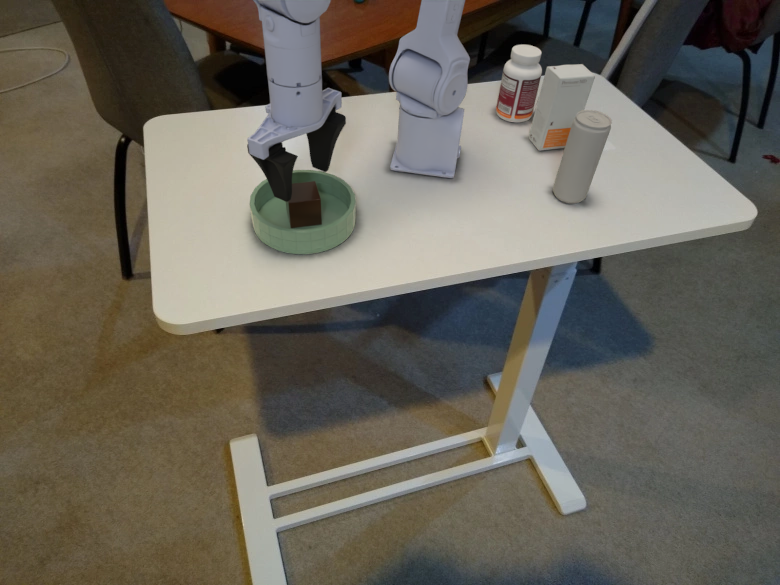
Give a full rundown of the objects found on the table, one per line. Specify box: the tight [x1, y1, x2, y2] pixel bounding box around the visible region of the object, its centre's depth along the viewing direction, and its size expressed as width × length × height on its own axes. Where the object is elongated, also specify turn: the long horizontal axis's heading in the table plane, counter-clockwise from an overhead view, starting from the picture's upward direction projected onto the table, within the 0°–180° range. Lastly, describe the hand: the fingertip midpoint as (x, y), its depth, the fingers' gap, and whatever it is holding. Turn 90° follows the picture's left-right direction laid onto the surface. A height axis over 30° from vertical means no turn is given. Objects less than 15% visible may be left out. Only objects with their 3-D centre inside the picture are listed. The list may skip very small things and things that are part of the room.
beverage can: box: [552, 109, 613, 204], centre depth 78 cm, size 5×5×12 cm
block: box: [286, 181, 322, 228], centre depth 73 cm, size 4×4×4 cm
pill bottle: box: [495, 44, 543, 123], centre depth 94 cm, size 6×6×11 cm
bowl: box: [248, 169, 357, 255], centre depth 73 cm, size 13×13×4 cm
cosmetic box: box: [528, 63, 596, 152], centre depth 87 cm, size 6×4×12 cm
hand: (302, 182), depth 70 cm, fingers open, 7 cm apart
